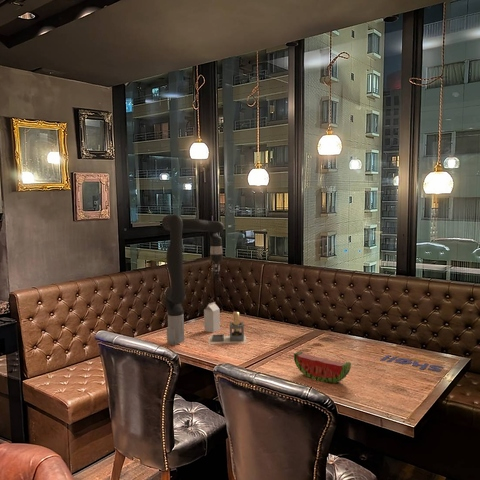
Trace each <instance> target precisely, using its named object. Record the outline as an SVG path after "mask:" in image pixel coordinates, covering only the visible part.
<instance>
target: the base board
mask: <svg viewBox="0 0 480 480" xmlns="http://www.w3.org/2000/svg"><path fill="white" fill-rule="evenodd" d="M212 336H213V335H210V336H209V337H208V344H210V345H212V344H213V345H214V344H217V345H218V344H247V336H246V335H244V341H230V335H224V341H213V342H212Z"/></svg>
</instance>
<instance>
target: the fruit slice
mask: <svg viewBox="0 0 480 480" xmlns="http://www.w3.org/2000/svg"><path fill="white" fill-rule="evenodd" d="M293 360H294V364H295V366H296V368H297V369H298V370H299V372H301V374H303V375H305V376H306V377H308V378H310V379H311V378H312V380H314V379H316V380H315V381H318V380H319V381H318V382H322V381H323V383H329V384H330V383H338V382H341V381H342V380H344V379H345V378H346V377H347V375H348V374H349V373H350V370H351V368H352V364H351V362H347V361H346V362H343V361H342V362H341V361H337V360H331V359H328V358H325V357H319V356H315V355H313V354H308V353H304V352H303V351H301V350H299V351H296V352H295V353H293Z"/></svg>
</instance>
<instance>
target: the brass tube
mask: <svg viewBox="0 0 480 480" xmlns="http://www.w3.org/2000/svg"><path fill="white" fill-rule="evenodd" d="M232 317H233V319H232V322H233V325H232V326H238V325H240V322H241V321H240V312H239V311H233V313H232ZM240 330H241V329H233V330H232V332H233V333H234V336H240V332H241V331H240Z"/></svg>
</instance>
